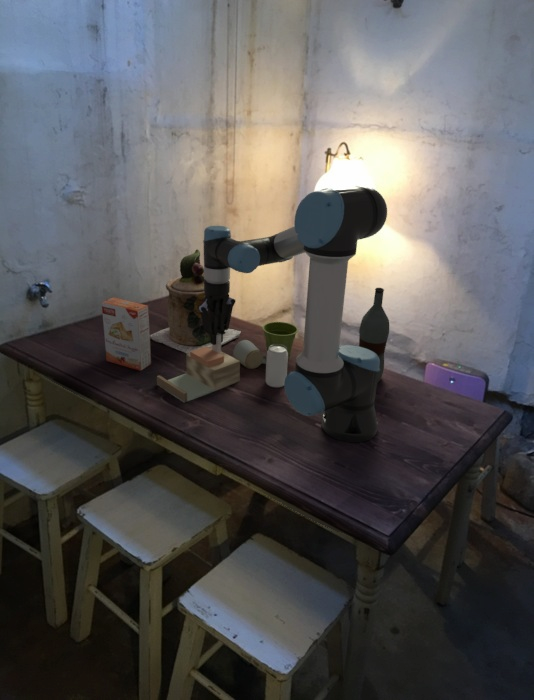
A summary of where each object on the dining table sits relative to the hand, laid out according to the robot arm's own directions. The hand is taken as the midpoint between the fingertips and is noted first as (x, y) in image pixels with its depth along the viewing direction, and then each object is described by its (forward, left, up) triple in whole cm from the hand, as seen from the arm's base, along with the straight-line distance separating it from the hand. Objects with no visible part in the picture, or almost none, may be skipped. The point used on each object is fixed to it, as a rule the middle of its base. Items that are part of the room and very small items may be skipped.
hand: (216, 352), depth 177 cm
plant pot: (-3, -24, -9) cm, 26 cm away
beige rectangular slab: (0, +2, -8) cm, 8 cm away
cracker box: (+25, +17, -9) cm, 31 cm away
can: (-15, -11, -9) cm, 21 cm away
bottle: (-31, -37, -9) cm, 49 cm away
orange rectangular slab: (0, +4, -1) cm, 4 cm away
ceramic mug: (0, -15, -9) cm, 17 cm away
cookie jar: (+28, -13, -9) cm, 32 cm away
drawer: (0, +12, -8) cm, 15 cm away
